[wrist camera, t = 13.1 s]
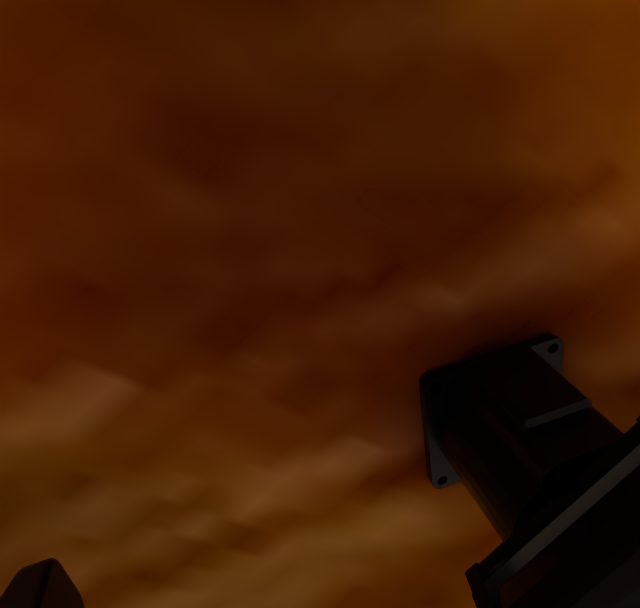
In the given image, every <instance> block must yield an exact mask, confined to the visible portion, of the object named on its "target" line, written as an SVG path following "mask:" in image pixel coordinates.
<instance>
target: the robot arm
mask: <svg viewBox="0 0 640 608" xmlns="http://www.w3.org/2000/svg"><path fill="white" fill-rule="evenodd" d="M563 346H564V345H563V341H562V340H561V339H560V338H559V337H557V336H556V335H554V334H547V335H544V336H541V337H538V338H535V339H532V340H529V341H526V342H523V343H520V344H517V345H514V346H511V347H508V348H505V349H502V350H499V351H496V352H493V353H490V354H487V355H484V356H481V357H478V358H474V359H471V360H468V361H465V362H462V363H459V364H456V365H453V366H450V367H447V368H444V369H441V370H438V371H435V372H432V373H429V374H427V375H426V376H425V377H424V378H423V379H422V380H421V382H420V392H421V402H422V413H423V423H424V434H425V445H426V455H427V466H428V476H429V480H430V482H431V483H432V485H433V487H435V488H436V489H441V488H445V487H447V486H450V485H453V484H455V483H458V482H461V481H462V482H463V484H464V485H465V487H466V488H467V490H468V491H469V493H470V494H471V496H472V497H473V498H474V500H475V501H476V503H477V504H478V506H479V507H480V509H481V510H482V511H483V513H484V514H485V516H486V517H487V519H488V520H489V522H490V523H491V525H492V526H493V527H494V529H495V530H496V532H497V533H498V535H499V536H500V538H501V539H502V541H503V542H502V543H501V544H500V545H499V546H498V547H497V548H496V549H495V550H493V551H492V552H491V553H490V554H489V555H488V556H487V557H486V558H484V559H483V560H482V561H481V562H480V563H479V564H478V563H475V564H474V565H472V566H471V567H470V568H469V569H468V570H467V571H466V572H465V575H466V578H467V580H468V583H469V585H470V588H471V590H472V593H473V594H472V597H473V600H474V602H475V605H476V607H477V608H640V416H639V417H638V418H637V419H636V421H637V423H636V424H635V425H633V426H632V427H631V428H630V429H629V430H628V431H627V432H626V433H622V432H621V431H620V430H619V429H618V428H617V427H616V426H614V425H613V424H612V423H611V422H610V421H609V420H608V419H607V418H605V417H604V416H603V415H602V414H601V413H600V412H599V411H597V410H596V409H595V408H594V407H593V406H592V401H591V400H590V399H589V398H588V397H587V396H586V395H585V394H584V393H582V392H581V391H580V390H579V389H578V388H577V387H576V386H574V385H573V384H572V383H571V382H570V381H569V380H567V379H566V378H565V377H564V376H563V375H562V361H563ZM434 383H436V384H435V385H434V386H433V387H431V386H432V385H433V384H434ZM0 608H84V603H83V600H82V597H81V595H80V593H79V591H78V590H77V588H76V587H75V585H74V583H73V582H72V580H71V579H70V577H69V576H68V574H67V573H66V571H65V570H64V568H63V567H62V565H61V564H60V563H59V562H58V560H56V559H54V558H50V559H46V560H43V561H40V562H37V563H34V564H32V565H29V566H26V567H24V568H22V569H21V570H20V571H19V572H18V573H17V574H16V575H15V576H14V578H13V579H12V581H11V582H10V584H9V585H8V587H7V588H6V590H5V591H4V593H3V594H2V596H1V597H0Z"/></svg>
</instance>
